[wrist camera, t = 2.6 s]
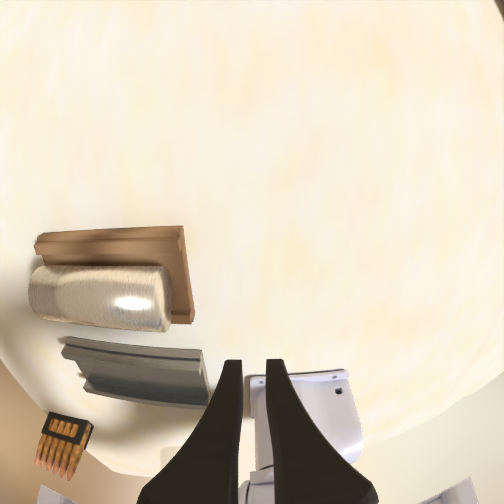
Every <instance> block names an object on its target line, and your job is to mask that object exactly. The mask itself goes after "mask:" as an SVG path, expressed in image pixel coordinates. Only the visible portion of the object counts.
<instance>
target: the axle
mask: <svg viewBox="0 0 504 504" xmlns="http://www.w3.org/2000/svg"><path fill="white" fill-rule="evenodd" d="M28 294H29V301H30V305H31V307H32V309H33V311H34V312H35V314H36V315H37V316H38V317H40V318H42V319H47V320H53V321H60V322H66V323H73V324H81V325H88V326H96V327H105V328H115V329H125V330H137V331H150V332H166V331H167V330H168V328H169V326H170V323H171V319H172V313H173V286H172V280H171V276H170V273H169V271H168V269H167V268H166V267H165V266H63V265H42V266H40V267H38V268H37V269H36V270H35V271H34V272H33V274H32V276H31V279H30V282H29V289H28Z"/></svg>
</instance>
